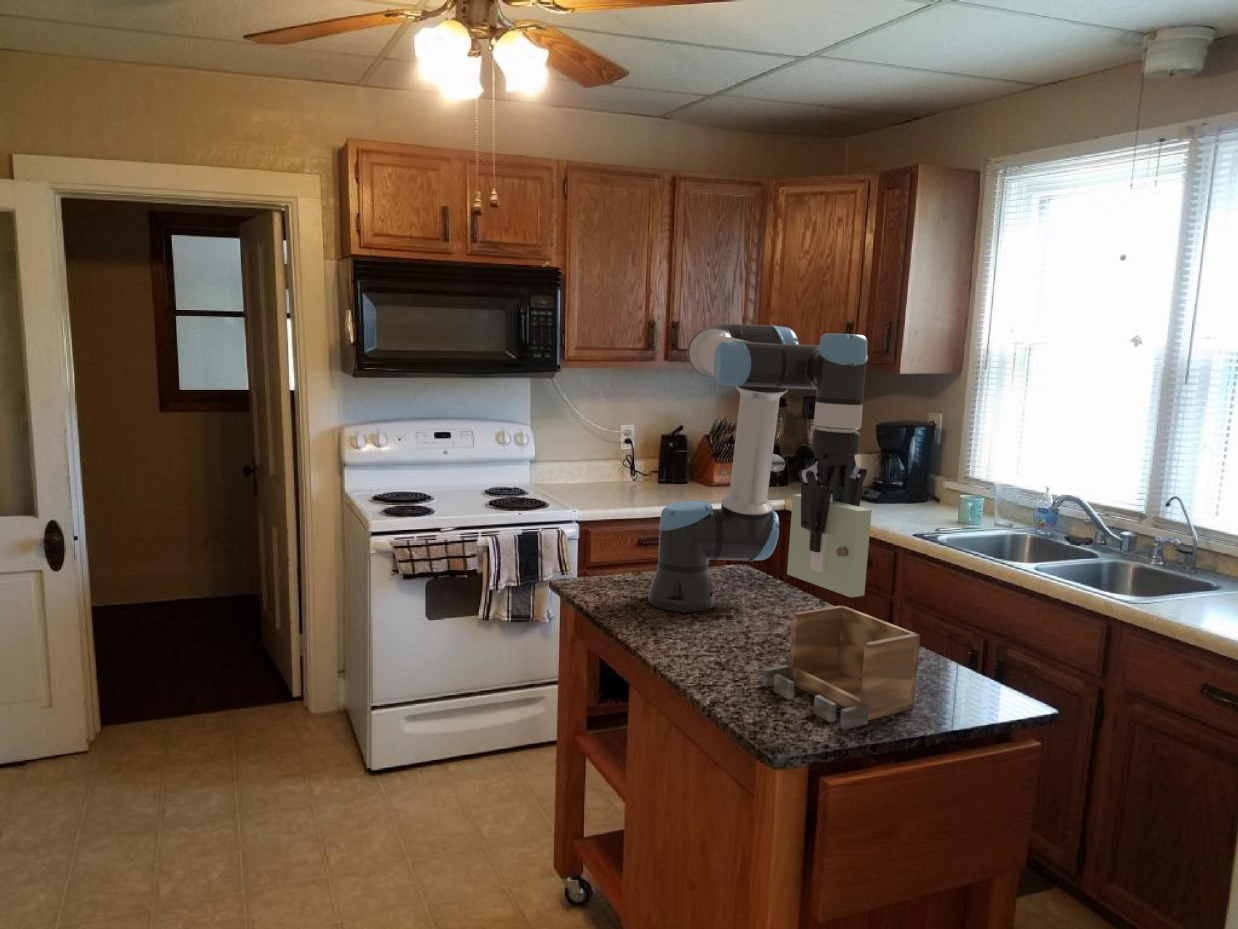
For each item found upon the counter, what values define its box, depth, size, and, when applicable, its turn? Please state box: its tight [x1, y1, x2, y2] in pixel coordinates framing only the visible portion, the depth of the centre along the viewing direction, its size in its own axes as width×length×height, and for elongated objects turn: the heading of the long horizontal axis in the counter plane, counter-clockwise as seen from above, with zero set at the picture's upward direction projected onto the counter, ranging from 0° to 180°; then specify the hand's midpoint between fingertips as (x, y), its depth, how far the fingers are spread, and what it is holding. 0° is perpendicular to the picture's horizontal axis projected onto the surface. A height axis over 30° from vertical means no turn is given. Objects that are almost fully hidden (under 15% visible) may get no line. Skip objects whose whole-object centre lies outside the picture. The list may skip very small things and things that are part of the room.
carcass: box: [761, 604, 921, 731], centre depth 153 cm, size 20×17×13 cm
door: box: [786, 493, 872, 598], centre depth 147 cm, size 15×4×14 cm, turn 31°
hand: (825, 569), depth 148 cm, fingers closed on door, 3 cm apart
